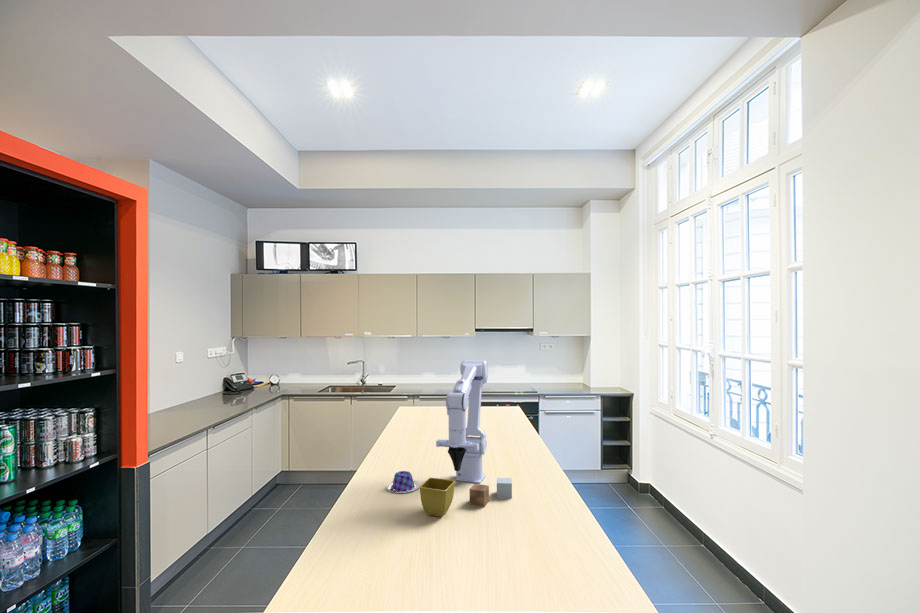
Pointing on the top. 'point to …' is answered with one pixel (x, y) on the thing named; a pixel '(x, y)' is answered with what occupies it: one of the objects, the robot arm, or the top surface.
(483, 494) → the walnut cube
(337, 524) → the top surface
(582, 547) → the top surface
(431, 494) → the flower pot
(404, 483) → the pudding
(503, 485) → the slate-grey cube
